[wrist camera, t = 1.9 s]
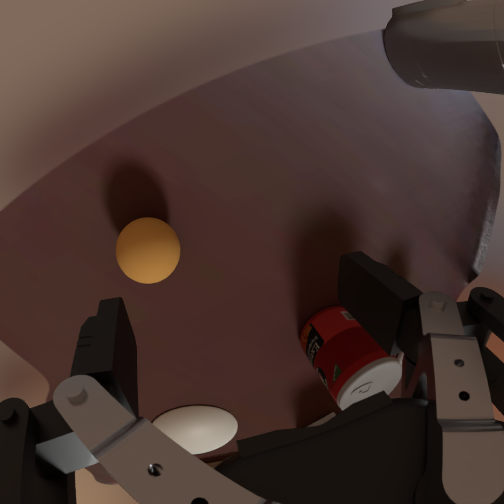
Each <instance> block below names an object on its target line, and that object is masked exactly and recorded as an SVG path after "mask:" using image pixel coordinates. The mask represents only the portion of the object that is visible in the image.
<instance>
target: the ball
mask: <svg viewBox="0 0 504 504" xmlns="http://www.w3.org/2000/svg"><path fill="white" fill-rule="evenodd" d="M116 257H117V261H118V264H119V266H120V268H121V269H122V271H123V272H124V273H125V274H126V275H127V276H128V277H130V278H131V279H133V280H135V281H137V282H140V283H155V282H159V281H161V280H163V279H165V278H166V277H168V276H169V275H170V274H171V273H172V272H173V270H174V269H175V267H176V266H177V263H178V261H179V257H180V244H179V240H178V237H177V235H176V233H175V232H174V230H173V229H172V228H171V227H170V226H169V225H168V224H167V223H165V222H164V221H162V220H159V219H156V218H151V217H145V218H139V219H137V220H134V221H132V222H131V223H129V224H128V225H127V226H126V227H125V228H124V229H123V230H122V232H121V233H120V235H119V237H118V240H117V243H116Z"/></svg>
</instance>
